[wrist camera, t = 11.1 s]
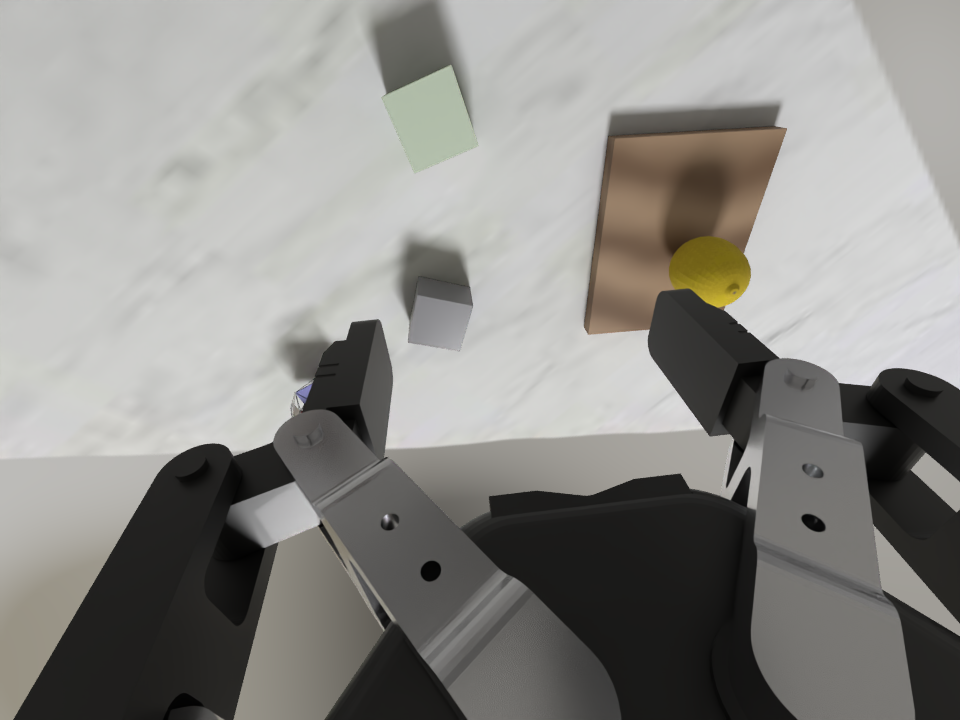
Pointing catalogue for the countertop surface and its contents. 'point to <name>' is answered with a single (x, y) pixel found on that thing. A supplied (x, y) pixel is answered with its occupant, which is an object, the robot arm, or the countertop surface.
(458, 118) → the sage block
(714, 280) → the lemon
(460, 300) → the gray block
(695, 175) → the walnut board
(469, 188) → the countertop surface
